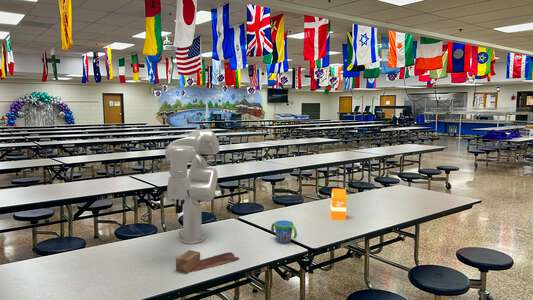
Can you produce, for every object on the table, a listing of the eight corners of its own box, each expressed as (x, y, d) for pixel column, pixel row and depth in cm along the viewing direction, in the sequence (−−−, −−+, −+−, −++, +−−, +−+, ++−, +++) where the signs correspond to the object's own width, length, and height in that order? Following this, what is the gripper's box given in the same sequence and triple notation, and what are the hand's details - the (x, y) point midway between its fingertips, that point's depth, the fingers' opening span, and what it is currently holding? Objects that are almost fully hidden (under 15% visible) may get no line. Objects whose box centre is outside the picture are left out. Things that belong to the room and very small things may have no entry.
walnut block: (175, 271, 158) (175, 258, 157) (189, 262, 167) (189, 249, 166) (187, 273, 156) (187, 260, 155) (200, 264, 165) (200, 252, 164)
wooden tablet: (188, 271, 155) (179, 260, 163) (188, 276, 156) (179, 265, 164) (241, 258, 170) (230, 248, 178) (240, 262, 171) (230, 252, 179)
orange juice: (345, 220, 233) (347, 190, 231) (331, 220, 234) (333, 189, 231) (343, 216, 241) (344, 187, 239) (330, 216, 241) (331, 187, 239)
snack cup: (266, 239, 197) (266, 221, 195) (278, 235, 204) (279, 217, 203) (288, 248, 186) (288, 229, 185) (300, 242, 194) (301, 224, 192)
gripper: (160, 174, 166) (161, 212, 168) (187, 177, 160) (187, 217, 162) (170, 171, 173) (171, 208, 175) (197, 174, 167) (197, 212, 169)
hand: (179, 212), depth 168 cm, fingers closed
